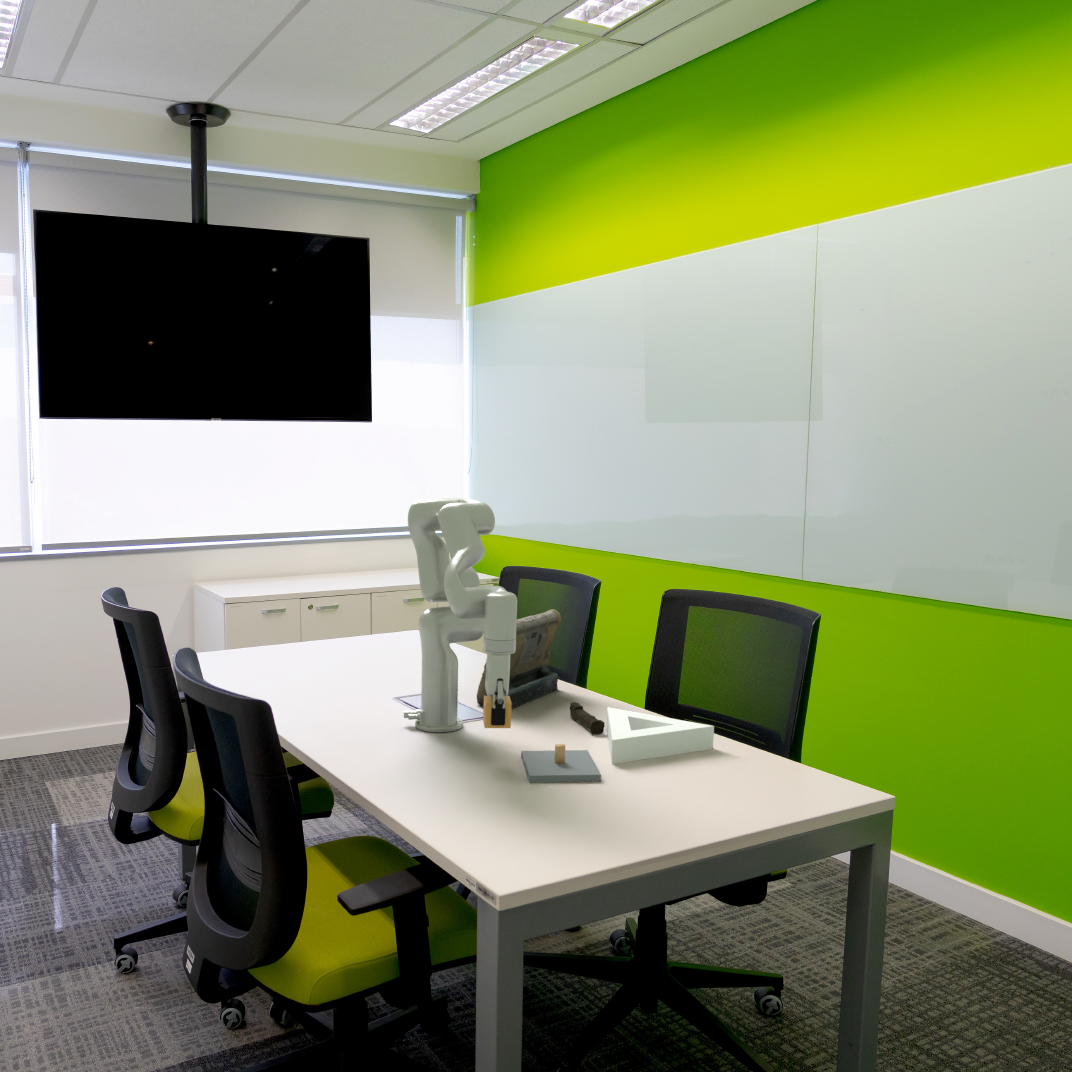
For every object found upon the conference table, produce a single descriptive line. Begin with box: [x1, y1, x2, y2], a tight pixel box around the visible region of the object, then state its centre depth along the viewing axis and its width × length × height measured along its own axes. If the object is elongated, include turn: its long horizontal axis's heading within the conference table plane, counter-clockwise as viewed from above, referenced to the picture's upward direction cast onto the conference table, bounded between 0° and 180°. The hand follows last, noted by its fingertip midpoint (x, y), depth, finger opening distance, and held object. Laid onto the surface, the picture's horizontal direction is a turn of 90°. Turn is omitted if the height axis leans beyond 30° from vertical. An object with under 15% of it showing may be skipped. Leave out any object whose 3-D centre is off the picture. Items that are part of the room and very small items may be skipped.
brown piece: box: [569, 701, 606, 736], centre depth 264 cm, size 19×4×5 cm, turn 17°
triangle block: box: [606, 706, 715, 765], centre depth 246 cm, size 30×26×6 cm
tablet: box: [476, 609, 562, 709], centre depth 291 cm, size 33×14×25 cm, turn 155°
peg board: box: [520, 743, 602, 783], centre depth 226 cm, size 16×18×6 cm
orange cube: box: [482, 696, 512, 729], centre depth 230 cm, size 6×6×6 cm
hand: (496, 719), depth 230 cm, fingers closed on orange cube, 5 cm apart
